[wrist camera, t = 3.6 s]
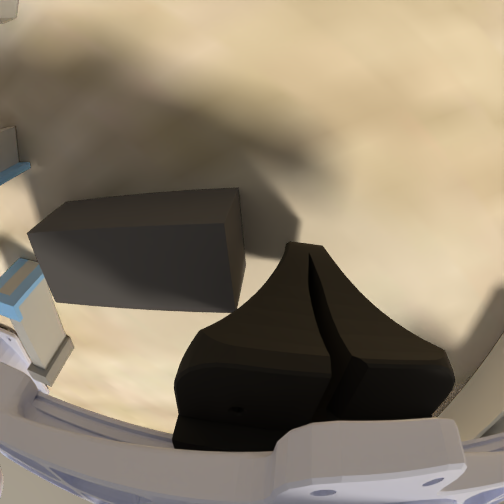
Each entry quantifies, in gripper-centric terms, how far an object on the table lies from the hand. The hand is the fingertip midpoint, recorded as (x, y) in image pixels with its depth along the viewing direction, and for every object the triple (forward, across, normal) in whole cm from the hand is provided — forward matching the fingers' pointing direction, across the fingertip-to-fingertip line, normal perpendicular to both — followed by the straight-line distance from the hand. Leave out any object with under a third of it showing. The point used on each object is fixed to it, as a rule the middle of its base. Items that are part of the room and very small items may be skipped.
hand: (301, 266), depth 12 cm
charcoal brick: (+1, +6, 0) cm, 6 cm away
